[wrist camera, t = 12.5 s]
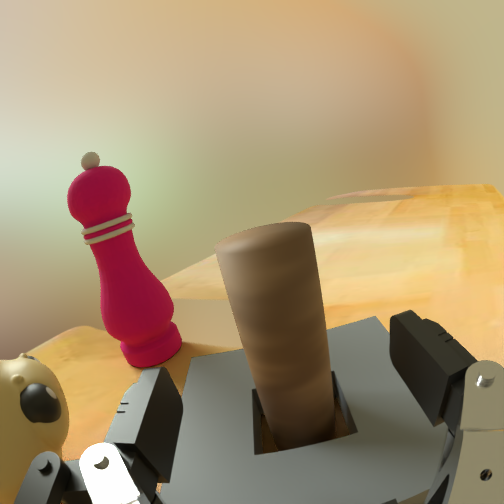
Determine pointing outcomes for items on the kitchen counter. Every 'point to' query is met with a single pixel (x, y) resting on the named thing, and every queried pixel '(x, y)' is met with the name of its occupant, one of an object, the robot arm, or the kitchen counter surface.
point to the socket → (313, 456)
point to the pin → (282, 328)
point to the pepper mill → (122, 267)
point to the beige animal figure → (28, 419)
